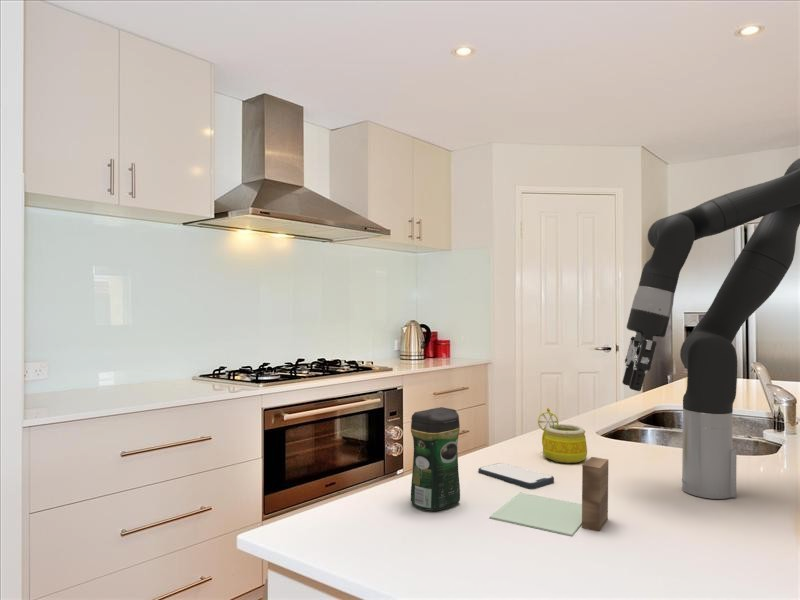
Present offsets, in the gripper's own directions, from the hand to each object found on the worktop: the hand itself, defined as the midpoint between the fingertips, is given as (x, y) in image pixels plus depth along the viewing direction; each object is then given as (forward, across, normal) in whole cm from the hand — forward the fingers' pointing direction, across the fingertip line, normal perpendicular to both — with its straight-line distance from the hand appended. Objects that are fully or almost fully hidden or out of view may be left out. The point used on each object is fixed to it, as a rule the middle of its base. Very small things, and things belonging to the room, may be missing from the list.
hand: (630, 387), depth 120 cm
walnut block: (+24, -18, +3) cm, 30 cm away
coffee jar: (+31, -15, +32) cm, 47 cm away
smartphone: (+27, +7, +18) cm, 33 cm away
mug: (+24, +26, +7) cm, 36 cm away
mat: (+26, -14, +12) cm, 32 cm away
